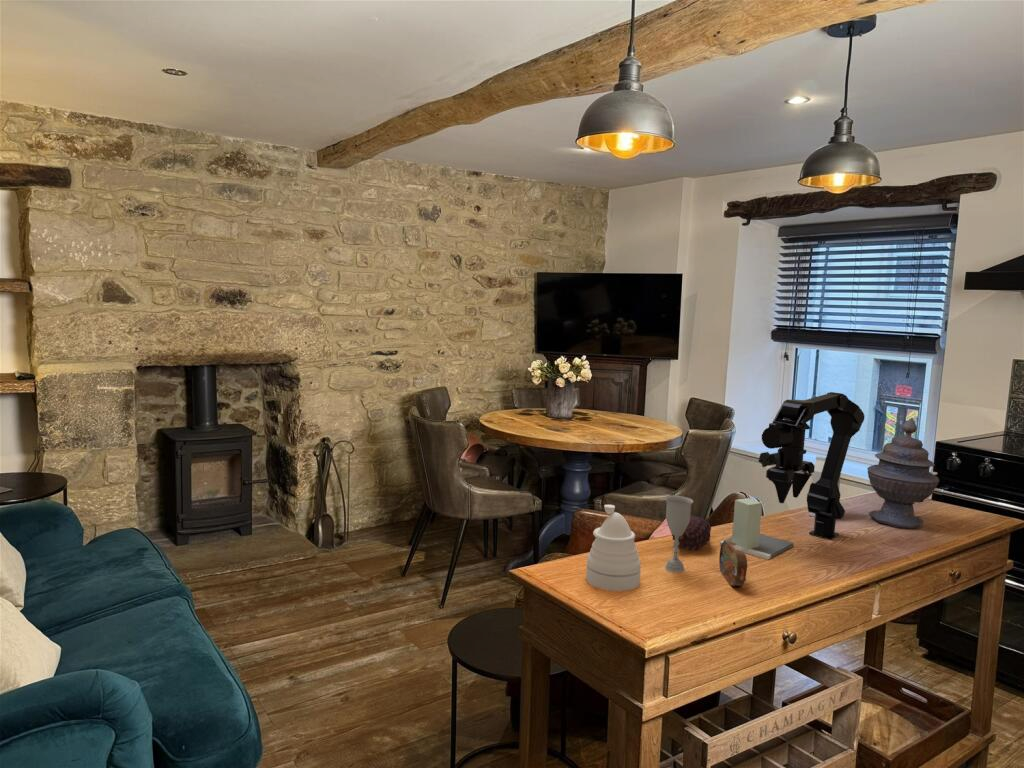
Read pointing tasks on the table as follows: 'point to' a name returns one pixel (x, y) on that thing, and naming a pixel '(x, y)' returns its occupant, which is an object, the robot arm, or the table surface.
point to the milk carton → (819, 473)
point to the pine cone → (695, 534)
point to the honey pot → (613, 555)
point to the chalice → (677, 526)
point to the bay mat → (766, 546)
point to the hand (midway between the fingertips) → (788, 500)
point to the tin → (733, 563)
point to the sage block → (747, 523)
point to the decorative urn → (902, 479)
